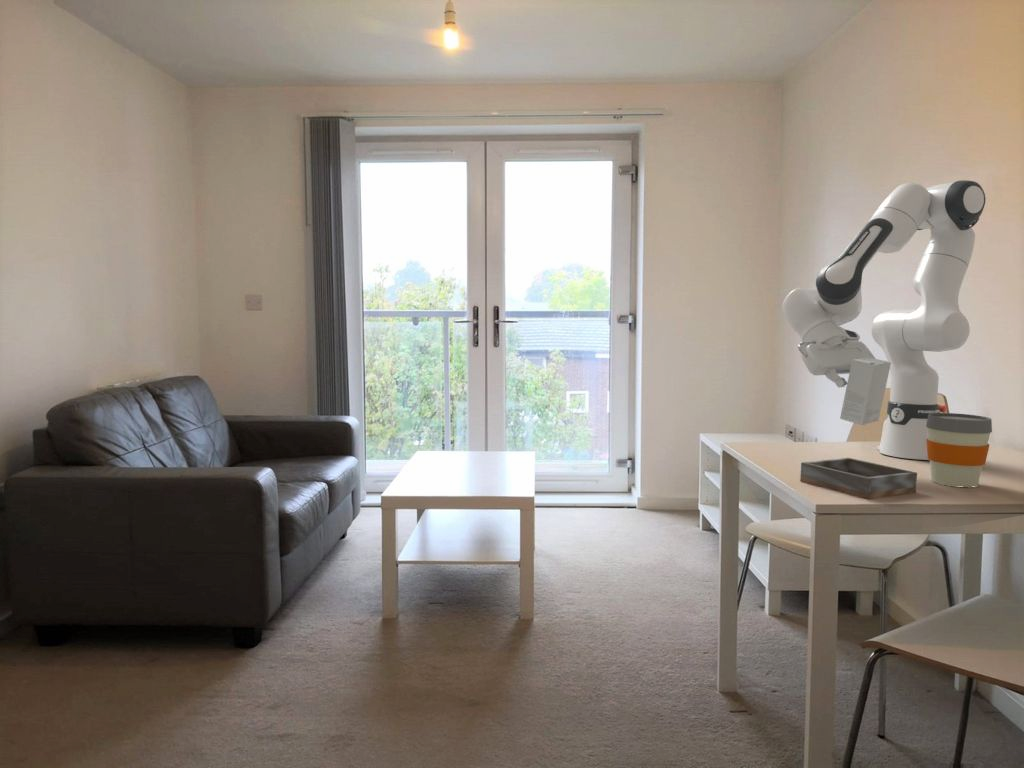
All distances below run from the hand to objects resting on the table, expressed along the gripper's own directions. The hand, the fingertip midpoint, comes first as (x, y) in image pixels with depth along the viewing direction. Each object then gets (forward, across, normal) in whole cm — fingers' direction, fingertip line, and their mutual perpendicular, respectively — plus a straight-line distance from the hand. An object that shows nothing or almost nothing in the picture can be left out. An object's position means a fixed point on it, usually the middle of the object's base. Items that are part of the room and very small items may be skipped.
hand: (857, 384), depth 174 cm
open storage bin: (+23, -15, +5) cm, 28 cm away
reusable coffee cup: (+28, +9, +2) cm, 30 cm away
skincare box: (+7, 0, +6) cm, 9 cm away
